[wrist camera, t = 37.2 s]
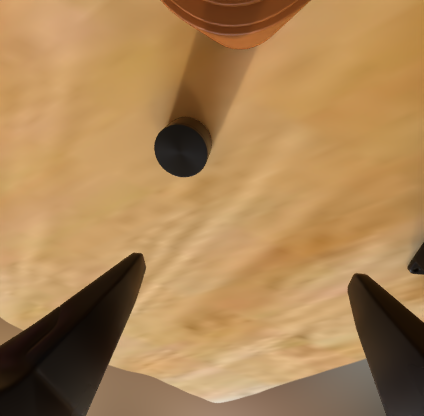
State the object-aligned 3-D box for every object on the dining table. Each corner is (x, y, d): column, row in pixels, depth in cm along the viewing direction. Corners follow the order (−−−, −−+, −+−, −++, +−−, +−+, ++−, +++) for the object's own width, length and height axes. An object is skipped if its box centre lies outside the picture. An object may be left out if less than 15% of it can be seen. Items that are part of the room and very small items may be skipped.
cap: (222, 141, 18) (219, 152, 16) (192, 174, 19) (186, 187, 17) (183, 105, 16) (174, 111, 15) (155, 143, 18) (144, 153, 16)
